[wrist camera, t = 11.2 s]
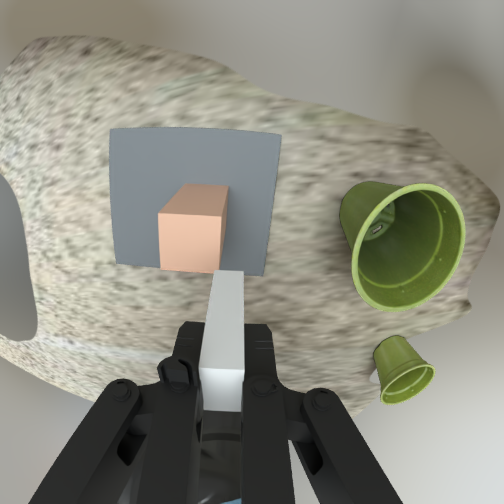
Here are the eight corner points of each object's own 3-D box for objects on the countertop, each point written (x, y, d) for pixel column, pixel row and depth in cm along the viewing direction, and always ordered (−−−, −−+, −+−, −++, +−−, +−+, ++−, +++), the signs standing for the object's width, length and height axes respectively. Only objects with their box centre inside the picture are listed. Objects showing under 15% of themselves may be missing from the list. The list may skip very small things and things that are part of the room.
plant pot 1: (352, 140, 27) (408, 153, 17) (423, 195, 29) (482, 230, 19) (297, 230, 31) (323, 284, 21) (372, 271, 34) (412, 327, 24)
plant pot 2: (413, 353, 42) (432, 388, 34) (366, 374, 43) (381, 412, 35) (413, 318, 38) (438, 355, 30) (360, 342, 39) (379, 384, 31)
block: (226, 226, 30) (218, 274, 21) (184, 224, 30) (160, 269, 21) (228, 185, 28) (221, 216, 19) (185, 183, 28) (157, 213, 19)
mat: (262, 273, 33) (263, 276, 33) (118, 261, 32) (116, 263, 32) (280, 134, 26) (281, 134, 26) (112, 128, 25) (109, 129, 25)
